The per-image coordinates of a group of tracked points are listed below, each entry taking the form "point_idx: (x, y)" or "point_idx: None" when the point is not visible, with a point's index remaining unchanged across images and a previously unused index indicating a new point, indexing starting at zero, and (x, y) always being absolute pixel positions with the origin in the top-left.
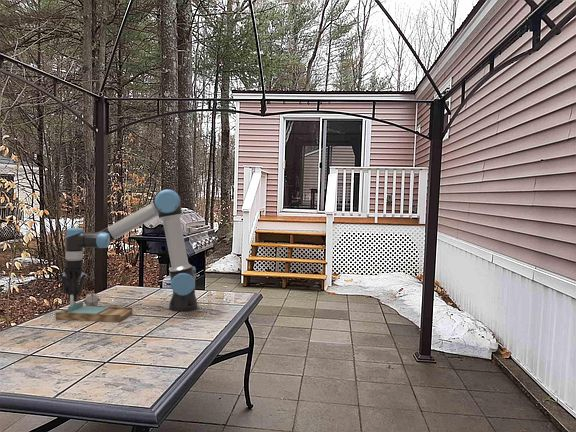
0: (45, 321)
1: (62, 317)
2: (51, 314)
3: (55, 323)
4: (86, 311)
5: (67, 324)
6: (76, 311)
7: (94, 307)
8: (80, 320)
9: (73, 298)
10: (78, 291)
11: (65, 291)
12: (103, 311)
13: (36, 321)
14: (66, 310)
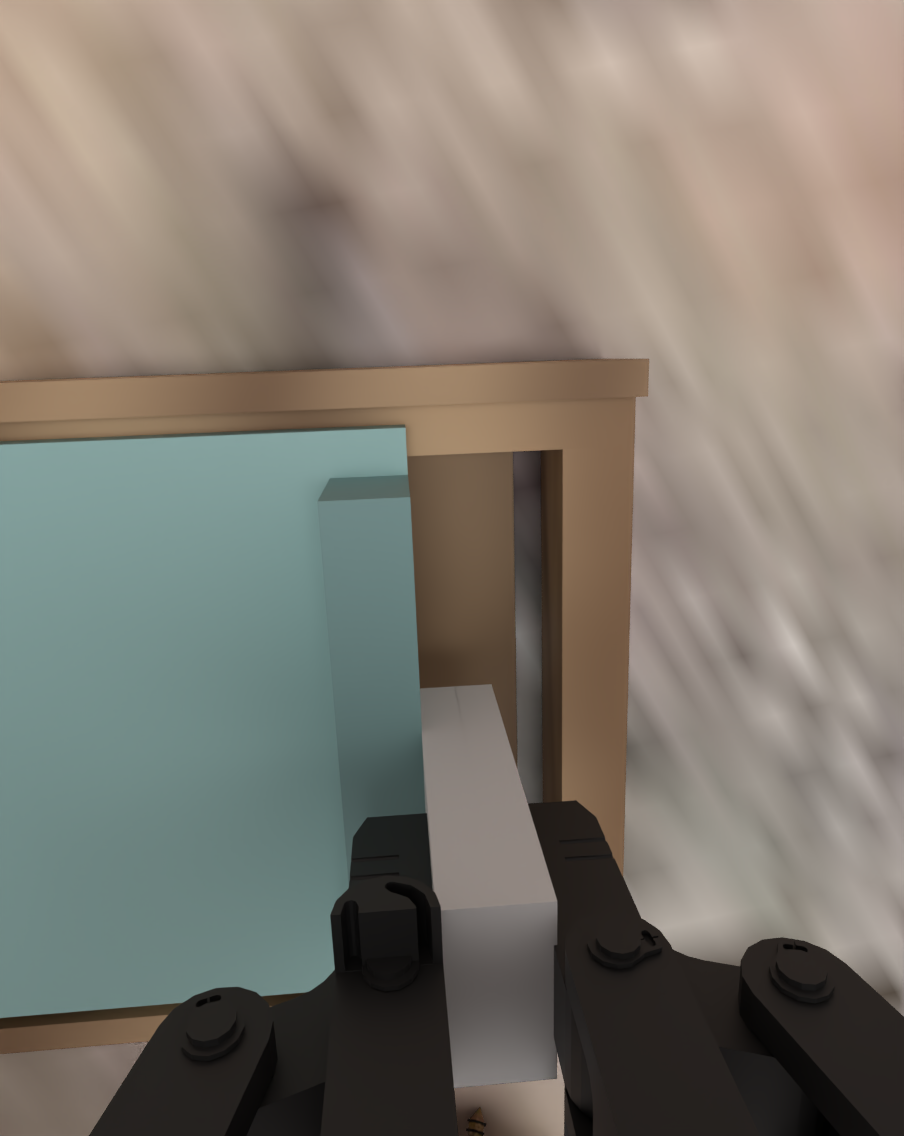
0: (726, 191)
1: (471, 364)
2: (858, 682)
3: (449, 71)
4: (9, 593)
5: (156, 32)
6: (236, 544)
7: (79, 942)
8: (82, 378)
9: (429, 848)
10: (187, 1074)
11: (817, 991)
12: None
13: (895, 159)
14: (589, 707)
